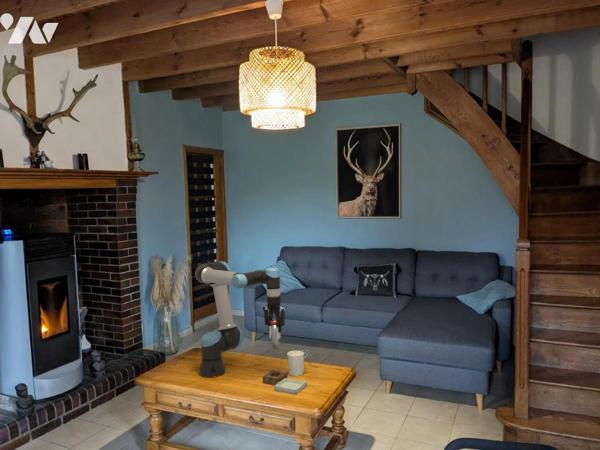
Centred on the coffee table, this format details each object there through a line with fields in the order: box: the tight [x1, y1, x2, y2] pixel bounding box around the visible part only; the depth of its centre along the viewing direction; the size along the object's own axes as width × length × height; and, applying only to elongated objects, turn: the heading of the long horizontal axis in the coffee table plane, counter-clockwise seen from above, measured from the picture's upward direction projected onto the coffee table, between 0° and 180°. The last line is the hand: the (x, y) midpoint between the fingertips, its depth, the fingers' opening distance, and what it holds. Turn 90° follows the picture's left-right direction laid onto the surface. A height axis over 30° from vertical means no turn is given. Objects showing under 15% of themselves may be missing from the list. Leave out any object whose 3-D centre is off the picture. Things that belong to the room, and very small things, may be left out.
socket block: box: [262, 369, 289, 386], centre depth 256 cm, size 10×10×4 cm
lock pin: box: [270, 318, 280, 350], centre depth 254 cm, size 5×5×16 cm
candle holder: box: [286, 350, 305, 377], centre depth 266 cm, size 10×10×12 cm
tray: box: [273, 377, 307, 396], centre depth 246 cm, size 13×12×3 cm
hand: (275, 337), depth 254 cm, fingers closed on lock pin, 4 cm apart
